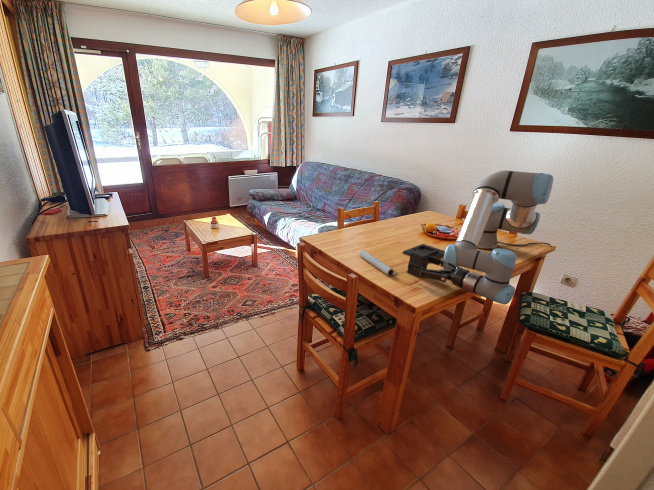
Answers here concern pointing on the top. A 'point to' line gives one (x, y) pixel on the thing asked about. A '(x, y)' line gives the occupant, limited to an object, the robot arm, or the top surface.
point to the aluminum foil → (377, 263)
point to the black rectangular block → (418, 261)
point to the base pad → (426, 250)
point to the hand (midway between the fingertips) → (417, 261)
